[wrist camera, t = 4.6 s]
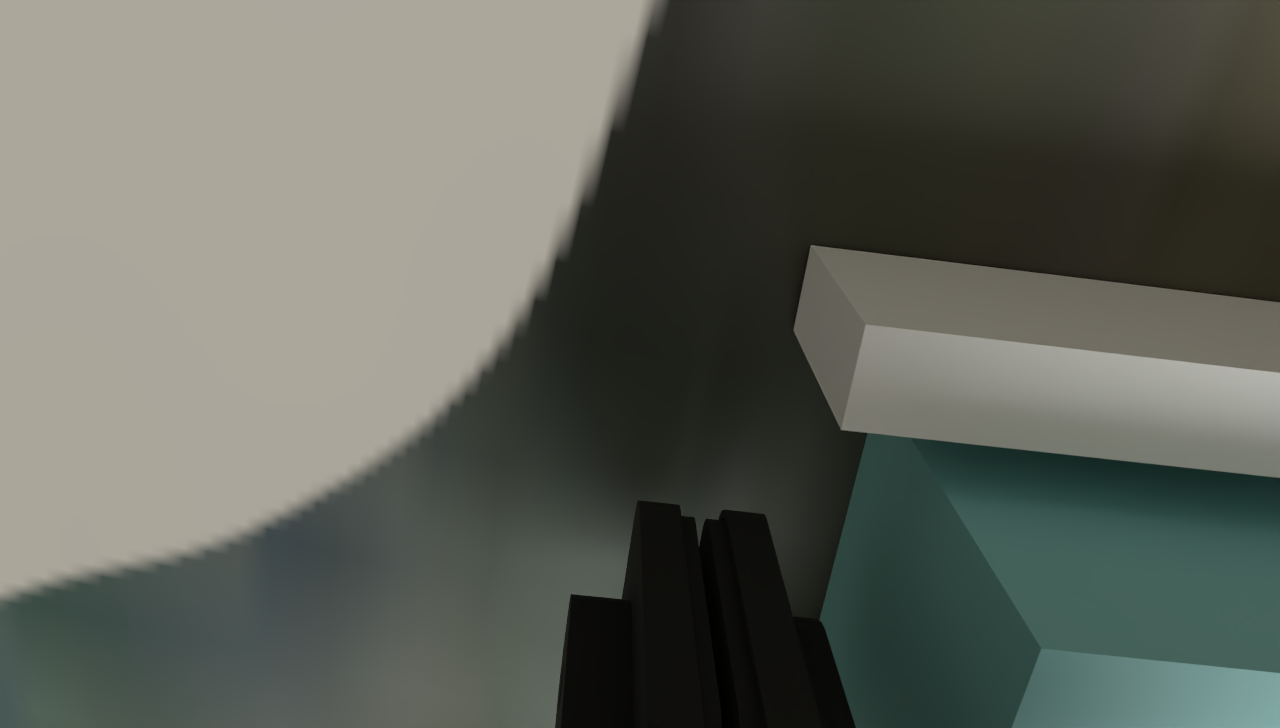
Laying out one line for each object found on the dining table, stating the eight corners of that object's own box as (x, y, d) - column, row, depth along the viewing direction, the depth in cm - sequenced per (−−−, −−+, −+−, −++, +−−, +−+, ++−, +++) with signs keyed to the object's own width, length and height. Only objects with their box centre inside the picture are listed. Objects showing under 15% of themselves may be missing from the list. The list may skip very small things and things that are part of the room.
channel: (811, 245, 12) (866, 324, 10) (1656, 348, 13) (1933, 448, 10) (705, 759, 16) (723, 928, 13) (1381, 817, 16) (1535, 988, 14)
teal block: (879, 387, 13) (1041, 647, 8) (1412, 451, 14) (1878, 734, 9) (806, 669, 15) (900, 1025, 10) (1277, 716, 16) (1594, 1075, 11)
